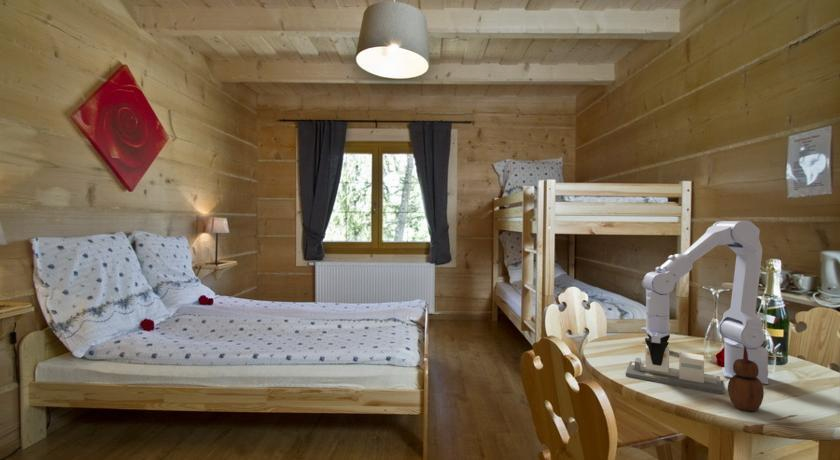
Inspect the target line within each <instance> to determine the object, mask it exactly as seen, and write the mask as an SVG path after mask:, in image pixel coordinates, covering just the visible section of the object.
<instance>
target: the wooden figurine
mask: <svg viewBox="0 0 840 460" xmlns="http://www.w3.org/2000/svg"><path fill="white" fill-rule="evenodd" d="M733 371H734V373H735V374H736V375H734V376H733V377H732V378H729V381H728V384H727V393H728V398H729V399H730V402H731V403H732V405H733V406H734V407H736V408H738V409H739V410H741V411H746V412H747V411H748V412H755V411H757V410H759V409H760V407H761V405H762V403H763V400H764V396H765V394H764V393H765V391H764V387H763V386H764V384H763V383H761V381H760V380H759V379H758V378H756V377H757V376H758V374H759V369H758V365H757V364H756V363H755V362H753V361H750V360H748V353H747V350H746V347H745V346H744V354H743V359H737V360H736V361H735V362H734V364H733Z"/></svg>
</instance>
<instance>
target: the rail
mask: <svg viewBox="0 0 840 460" xmlns="http://www.w3.org/2000/svg"><path fill="white" fill-rule="evenodd" d="M641 358H642V357H641ZM641 358H639V357H635V360H634V361H631V360H630V362H629V364H628V366H627V369H626V371H625V377H629V378H632V379H634V378H635V379H639V380H644V381H649V382H650V381H651V382H656V383H661V384H667V385H672V386H678V387H683V388H687V389H692V390H693V389H694V390H697V391H705V392H709V393H710V392H711V393H714V394H715V393H716V394H720V395H723V386H722V381H721V376H720V375H714V374H709V373H705V356H704V354H698V353H693V352H692V353H690V352H682V351H679V355H678V358H679V359H678V362H679V364H678V365H679V368H673V367H672V368H671V367H669V368H668V373H666V372H660V371H655V370H649V369H645V363H642V359H641Z"/></svg>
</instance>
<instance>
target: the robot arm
mask: <svg viewBox="0 0 840 460" xmlns="http://www.w3.org/2000/svg"><path fill="white" fill-rule="evenodd" d="M760 232H761V231H760V228H759V227H757V225H755V224H754V223H753V222H751V221H749V220H746V219H745V220H718V221H716V222H714V223H713V224H712V225H711V226H709V227H708V228H707V229H706V231H705V233H704V234H702V235H701V236H700V237H699V238H698V239H697V240H696V241H695V242H693V244H692V245H690V247H688V248H687V249H686V250H685V251H684V252H683V253H674V254H673V255H672V254H670V255H669V256H668V257H667V260H666V261H665V262H664V263H663V264H661V265H660V266H656V267H655V269H654V271H650V272H647V273H646V274H645V275H644V277H643V280H641V285H642V287H643V288H644V289H645V312H646V313H645V326H644V327H641V329H640V330H641V331H642V332H646V333H647V334H646V335H647V337H645V339H644V342H645V345H647V346H648V348H649V351H650V355H651V360H652V364H653V365H659V366H661V365H662V361H663V355H664V351H665V349H666V347H669V346H668V345H669V342H668V341H669V339H670V337H671V330H670V293H671V292H673V291H674V288H675V284H676V283H677V282H678V281H679V280H680V279H682V278H683V277H684V276H685V275H686V274H688V273H689V272H690V271H692V270H693V267H694V266H693V265H694V263H695V262H696V261H697V260H699V259H701V257H703V256H705V254H707V253H708V252H710V251H712V250H713V249H714V248H715V247H717V246H723V245H724V246H726V247H728V249H730V250H731V251H733V252H734V254H735V255H736V259H735V264H734V265H735V267H734V274H733V282H732V283H733V284H732V291H731V299H730V308H729V309H727V310H726V311H724V312H723V313H722V314H723V316H722V319H721V320H720V322H719V324H718V332H719V335H720V336H721V337H723V341H724V366H723V367H721V370H722V374H723V377H724V378H729V379H731V378H732V377H733V376H734V375H736V374H735V373H734V371H733V364H734V362H735V361H736V360H737V359H743V354H744V346H745V347H746V350H747V353H748V360H750V361H753V362H755V363H756V364H757V365H758V369H759V374H758V376H757V377H756V378H758V379H759V380H760V381H761V383H762V384H763V385H764V384H765V385H768V384H769V381H768V379H769V359H768V357H769V356H768V350H767V348H766V347H761V345H762V344H763V343H764V341H765V335H766V334H765V332H764V328H763V320H762V319H761V318H760V317H759V315H758V314H757V313H756V308H757V300H758V293H759V292H758V291H759V284H760V283H759V282H760V276H761V275H760V274H761V268H762V267H761V266H762V260H763V259H762V257H763V247H762V244H761V241H760Z"/></svg>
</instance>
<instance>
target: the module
mask: <svg viewBox="0 0 840 460" xmlns="http://www.w3.org/2000/svg"><path fill="white" fill-rule="evenodd" d="M644 353H645V356H644V357H645V360H644V361H645V363H644V364H645V369H649V370H655V371H660V372H666V373H668V368H670V347H669V346H667V347H666V349H665V351H664V355H663V361H662V365H661V366H659V365H653V364H652V360H651V355H650V351H649V348H648V346H647V344H645V352H644Z"/></svg>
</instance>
